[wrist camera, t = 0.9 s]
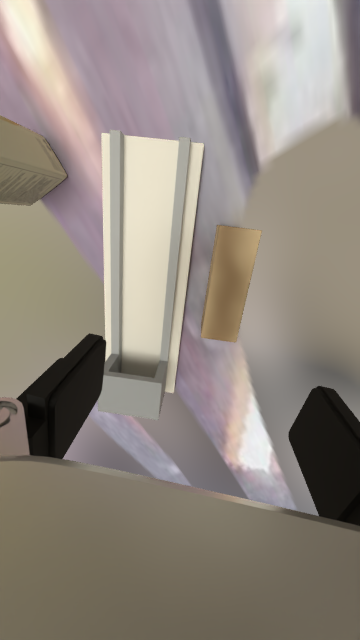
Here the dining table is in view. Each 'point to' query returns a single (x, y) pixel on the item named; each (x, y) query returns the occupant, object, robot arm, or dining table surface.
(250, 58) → the dining table surface
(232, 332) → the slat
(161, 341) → the board
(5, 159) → the skincare box
